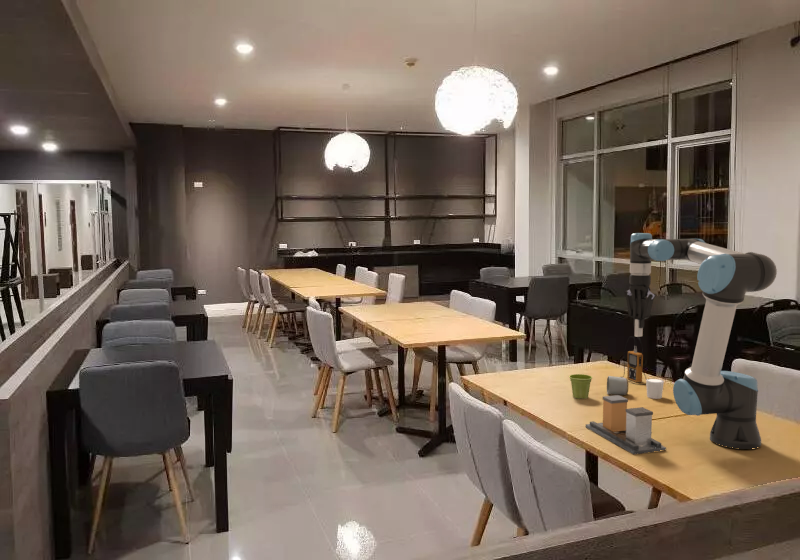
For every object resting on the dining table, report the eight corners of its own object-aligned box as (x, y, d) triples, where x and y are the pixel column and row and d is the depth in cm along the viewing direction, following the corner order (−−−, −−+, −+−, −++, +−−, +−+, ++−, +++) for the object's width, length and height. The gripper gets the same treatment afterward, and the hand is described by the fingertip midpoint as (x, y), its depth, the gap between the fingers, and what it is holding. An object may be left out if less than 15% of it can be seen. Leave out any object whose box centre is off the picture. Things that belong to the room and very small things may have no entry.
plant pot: (564, 397, 273) (564, 376, 272) (577, 392, 279) (577, 372, 279) (583, 401, 266) (584, 380, 265) (596, 397, 272) (597, 376, 272)
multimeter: (608, 378, 303) (609, 335, 301) (627, 376, 306) (628, 334, 304) (628, 386, 289) (629, 341, 287) (647, 384, 292) (649, 340, 290)
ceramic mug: (628, 397, 272) (629, 378, 272) (608, 396, 274) (608, 378, 273) (624, 390, 283) (625, 373, 282) (605, 390, 284) (605, 372, 283)
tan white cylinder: (667, 398, 270) (667, 381, 270) (653, 400, 268) (654, 383, 267) (654, 394, 277) (655, 377, 276) (641, 395, 274) (642, 379, 273)
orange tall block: (601, 427, 229) (602, 396, 228) (617, 425, 231) (618, 395, 230) (610, 432, 224) (611, 400, 223) (627, 430, 226) (628, 399, 225)
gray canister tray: (585, 427, 234) (586, 394, 233) (615, 424, 238) (615, 391, 236) (633, 454, 207) (634, 417, 206) (665, 450, 211) (667, 414, 209)
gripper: (661, 275, 243) (659, 337, 245) (632, 272, 254) (631, 332, 257) (647, 276, 239) (646, 340, 242) (619, 273, 251) (617, 334, 253)
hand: (638, 336), depth 249 cm, fingers closed
